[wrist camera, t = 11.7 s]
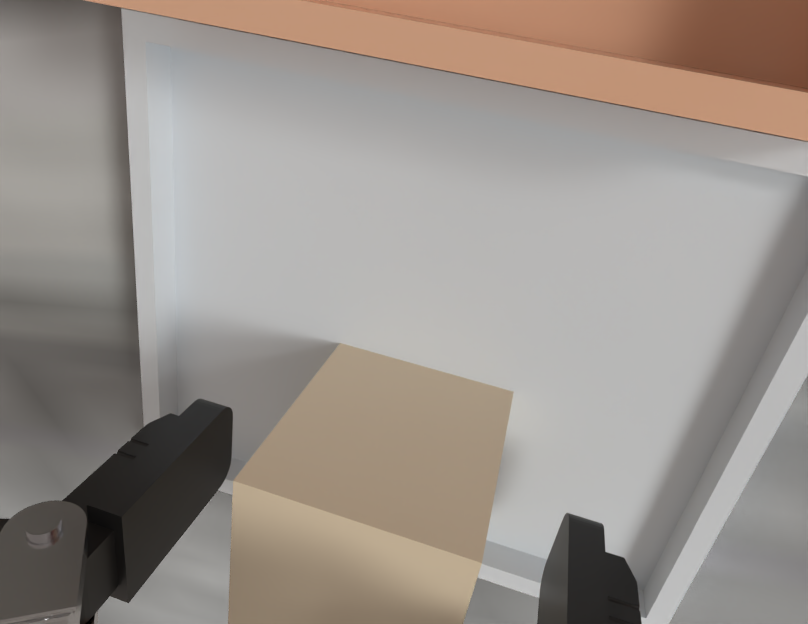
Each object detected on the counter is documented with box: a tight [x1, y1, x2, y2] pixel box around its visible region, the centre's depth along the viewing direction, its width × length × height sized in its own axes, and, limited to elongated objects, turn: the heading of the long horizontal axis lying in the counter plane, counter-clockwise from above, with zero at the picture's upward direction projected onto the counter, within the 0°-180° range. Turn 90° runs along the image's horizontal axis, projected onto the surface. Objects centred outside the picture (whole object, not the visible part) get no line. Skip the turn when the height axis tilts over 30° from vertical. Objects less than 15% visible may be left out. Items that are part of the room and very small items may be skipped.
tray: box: [121, 8, 808, 624], centre depth 13 cm, size 14×12×1 cm
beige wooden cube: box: [228, 343, 514, 624], centre depth 13 cm, size 4×4×5 cm
